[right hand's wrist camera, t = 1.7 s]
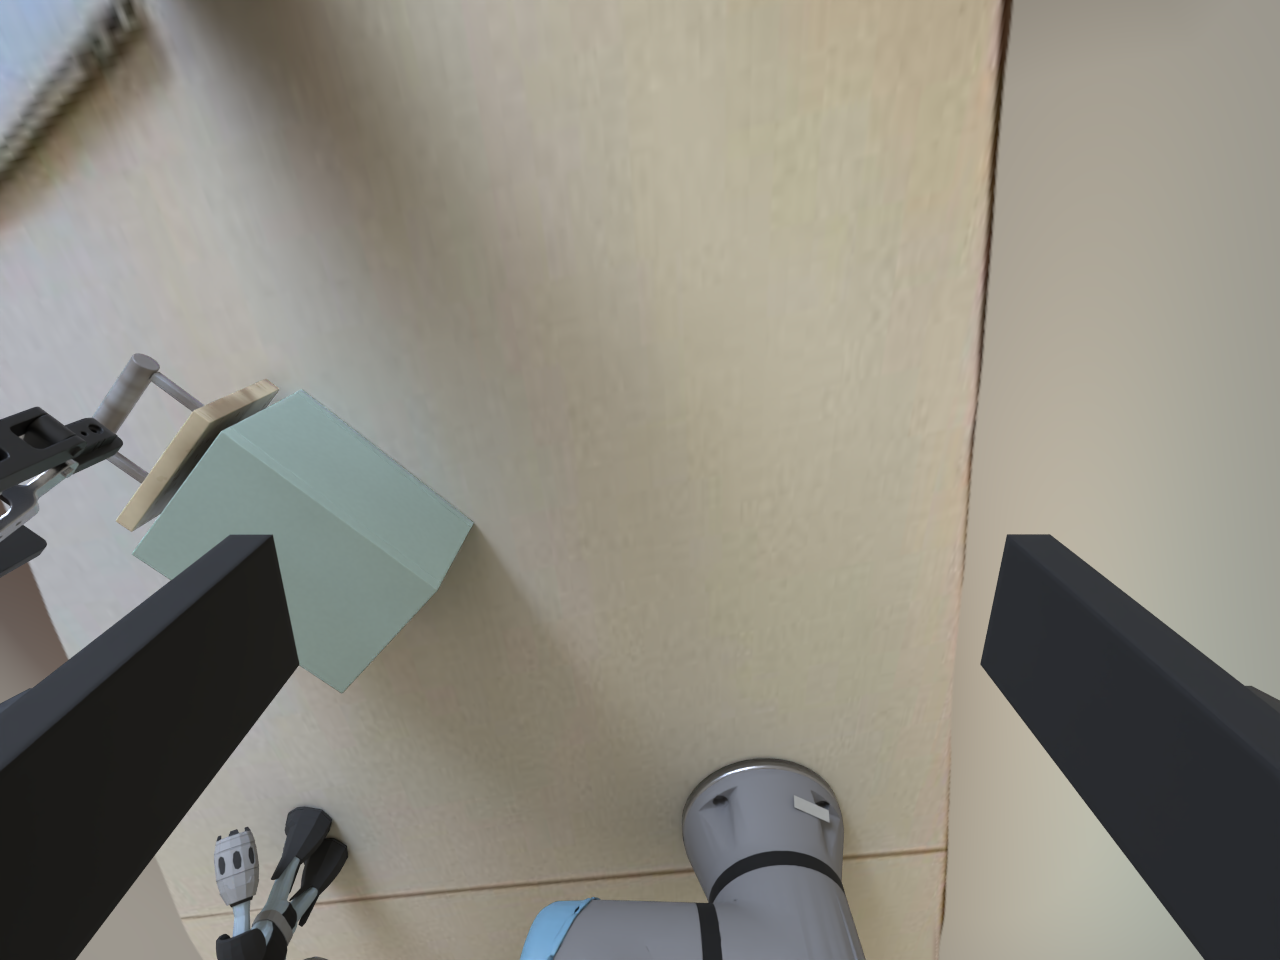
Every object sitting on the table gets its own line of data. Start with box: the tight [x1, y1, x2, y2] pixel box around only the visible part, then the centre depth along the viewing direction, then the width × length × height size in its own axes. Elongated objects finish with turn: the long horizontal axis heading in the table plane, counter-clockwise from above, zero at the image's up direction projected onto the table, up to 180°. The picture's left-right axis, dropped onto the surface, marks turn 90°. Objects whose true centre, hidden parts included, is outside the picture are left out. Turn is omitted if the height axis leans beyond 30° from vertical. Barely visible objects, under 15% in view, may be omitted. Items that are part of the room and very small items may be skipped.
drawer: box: [92, 354, 279, 532], centre depth 50 cm, size 21×10×9 cm, turn 48°
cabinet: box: [132, 390, 474, 693], centre depth 51 cm, size 16×11×11 cm
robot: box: [214, 807, 348, 960], centre depth 59 cm, size 20×5×20 cm, turn 14°
